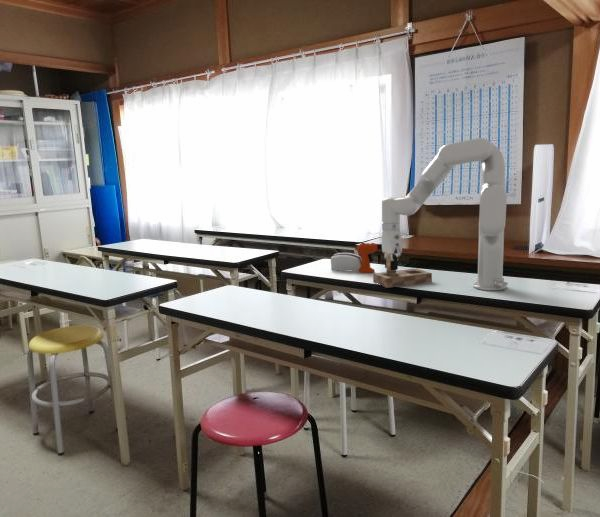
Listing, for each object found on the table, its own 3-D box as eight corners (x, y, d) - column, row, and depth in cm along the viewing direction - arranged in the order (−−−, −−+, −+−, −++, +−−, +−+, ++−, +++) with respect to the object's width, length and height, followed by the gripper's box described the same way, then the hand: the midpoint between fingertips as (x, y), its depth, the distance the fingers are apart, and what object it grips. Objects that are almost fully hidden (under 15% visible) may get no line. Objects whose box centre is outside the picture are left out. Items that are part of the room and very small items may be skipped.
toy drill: (397, 270, 246) (393, 239, 243) (358, 275, 250) (353, 244, 248) (398, 268, 250) (394, 237, 248) (359, 273, 255) (355, 243, 253)
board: (431, 282, 226) (431, 273, 225) (386, 287, 219) (386, 278, 218) (416, 277, 237) (416, 268, 236) (373, 282, 230) (373, 273, 229)
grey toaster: (365, 269, 258) (363, 251, 254) (362, 274, 255) (359, 256, 250) (334, 267, 266) (331, 250, 262) (331, 272, 262) (328, 255, 258)
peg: (397, 280, 225) (397, 248, 222) (389, 281, 223) (389, 249, 221) (393, 279, 228) (392, 247, 226) (384, 280, 227) (384, 248, 225)
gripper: (409, 228, 215) (409, 271, 218) (389, 224, 231) (389, 264, 234) (393, 229, 213) (393, 273, 216) (373, 225, 228) (374, 266, 231)
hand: (391, 268), depth 225 cm, fingers closed on peg, 4 cm apart
